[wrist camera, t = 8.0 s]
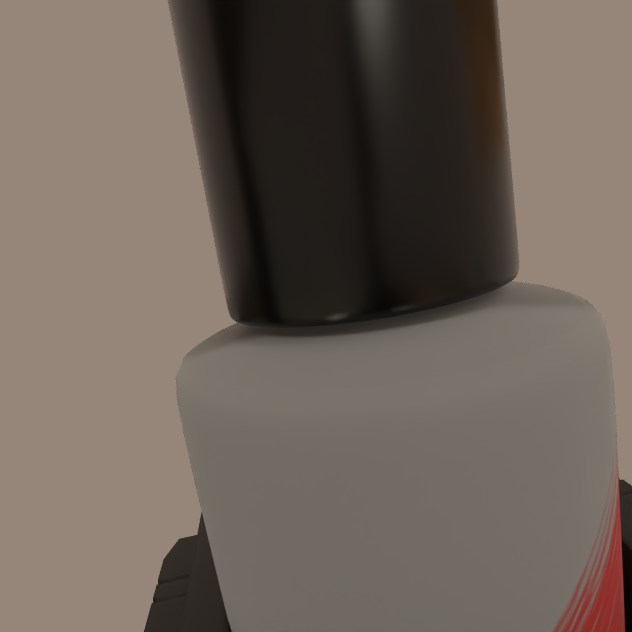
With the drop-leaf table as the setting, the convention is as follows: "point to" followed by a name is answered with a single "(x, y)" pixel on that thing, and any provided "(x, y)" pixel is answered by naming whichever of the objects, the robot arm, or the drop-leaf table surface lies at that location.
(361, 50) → the lotion bottle
